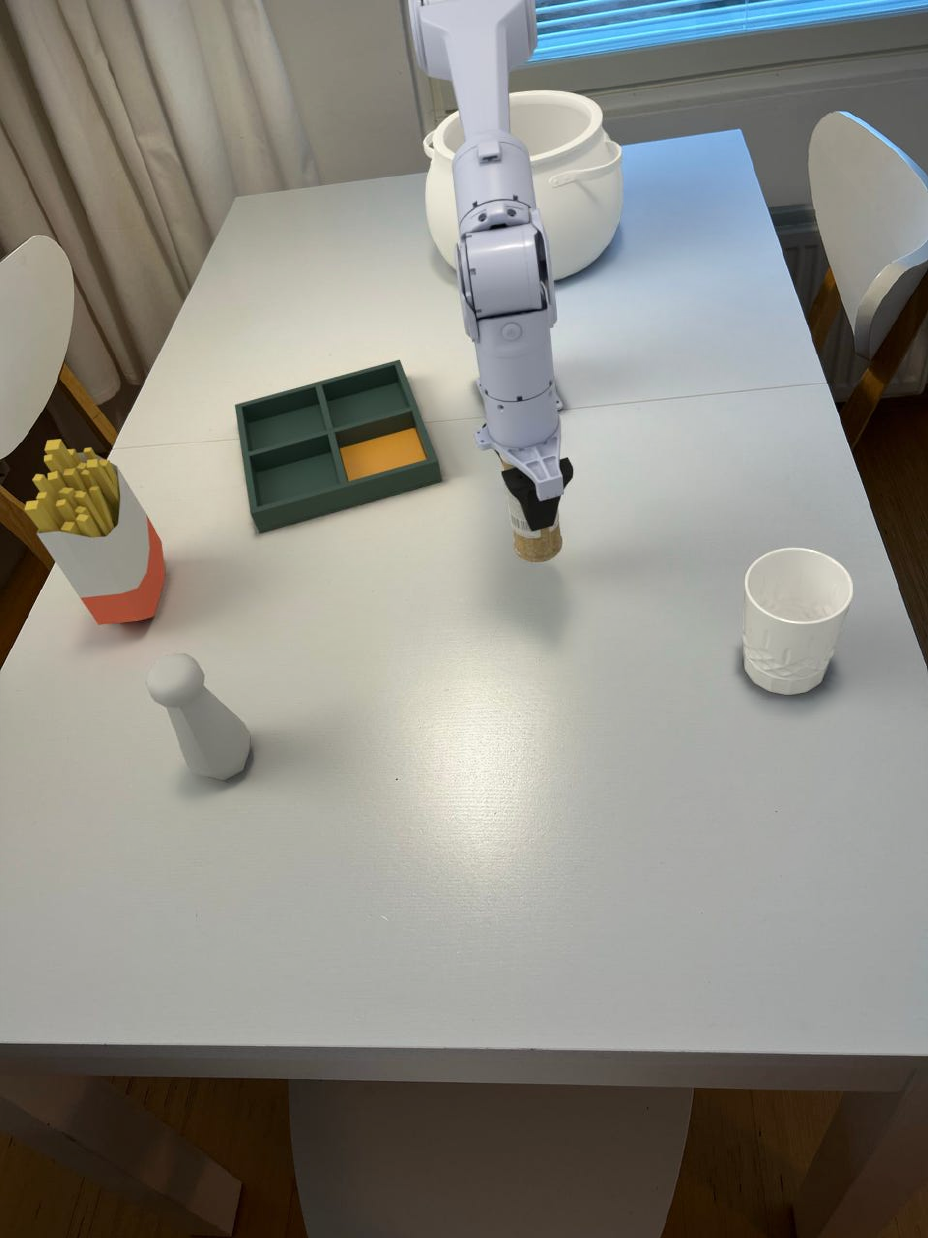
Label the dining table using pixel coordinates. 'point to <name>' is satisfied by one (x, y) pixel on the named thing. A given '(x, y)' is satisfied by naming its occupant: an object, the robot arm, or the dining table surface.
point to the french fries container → (98, 535)
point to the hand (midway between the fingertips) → (533, 507)
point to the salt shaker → (199, 718)
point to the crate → (333, 446)
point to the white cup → (793, 618)
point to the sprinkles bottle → (527, 542)
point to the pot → (543, 176)
